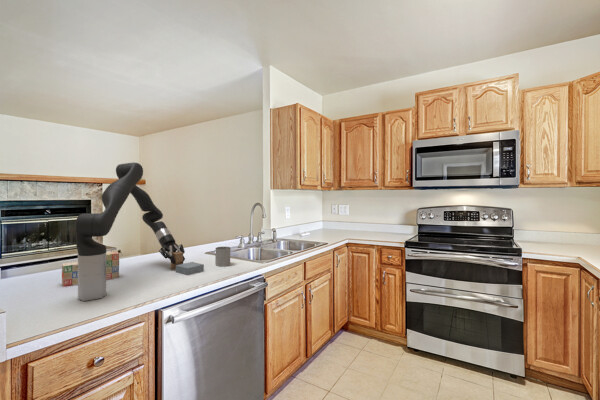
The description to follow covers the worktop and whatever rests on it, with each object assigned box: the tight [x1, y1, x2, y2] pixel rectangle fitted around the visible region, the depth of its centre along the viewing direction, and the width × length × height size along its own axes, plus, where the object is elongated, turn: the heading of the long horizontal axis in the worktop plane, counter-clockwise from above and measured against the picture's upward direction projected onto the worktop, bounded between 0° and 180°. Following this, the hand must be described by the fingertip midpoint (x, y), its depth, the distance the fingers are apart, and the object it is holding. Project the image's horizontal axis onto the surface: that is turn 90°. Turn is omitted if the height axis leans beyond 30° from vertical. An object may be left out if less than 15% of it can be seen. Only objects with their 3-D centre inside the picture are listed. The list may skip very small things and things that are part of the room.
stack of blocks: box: [61, 251, 120, 287], centre depth 136 cm, size 21×6×12 cm, turn 134°
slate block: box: [175, 261, 205, 276], centre depth 154 cm, size 10×10×4 cm
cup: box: [214, 246, 231, 268], centre depth 169 cm, size 8×8×10 cm
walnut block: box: [170, 251, 184, 271], centre depth 159 cm, size 4×4×9 cm
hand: (179, 261), depth 158 cm, fingers open, 5 cm apart
